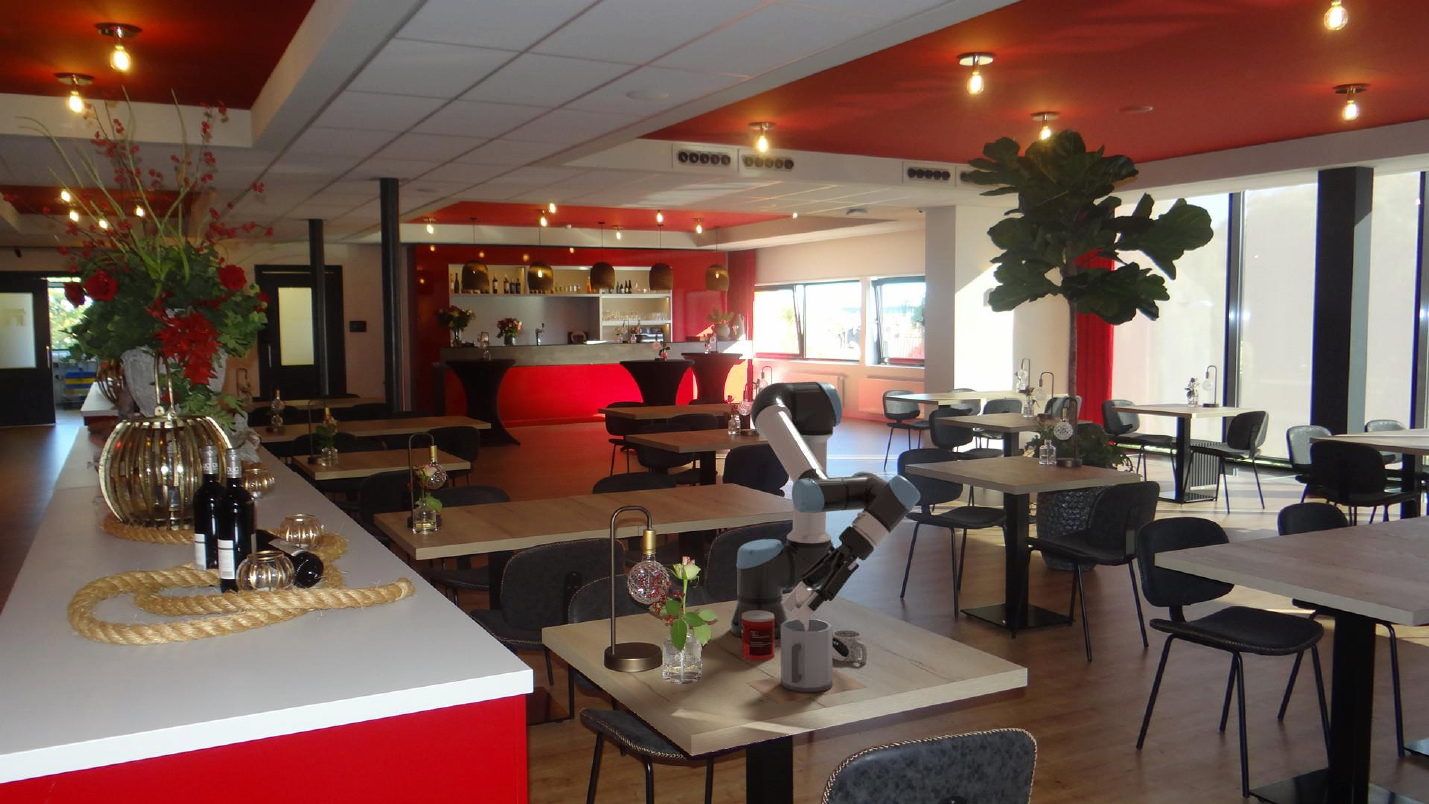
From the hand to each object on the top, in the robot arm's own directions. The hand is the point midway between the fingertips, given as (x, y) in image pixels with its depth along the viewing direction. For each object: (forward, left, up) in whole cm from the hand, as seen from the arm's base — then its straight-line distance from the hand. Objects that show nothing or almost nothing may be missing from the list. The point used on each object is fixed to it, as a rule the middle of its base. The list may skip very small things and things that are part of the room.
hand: (792, 613), depth 214 cm
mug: (+7, +23, -17) cm, 29 cm away
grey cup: (+3, +1, -16) cm, 16 cm away
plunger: (+3, +2, -13) cm, 14 cm away
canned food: (-14, +17, -17) cm, 28 cm away
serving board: (+3, +2, -17) cm, 17 cm away
